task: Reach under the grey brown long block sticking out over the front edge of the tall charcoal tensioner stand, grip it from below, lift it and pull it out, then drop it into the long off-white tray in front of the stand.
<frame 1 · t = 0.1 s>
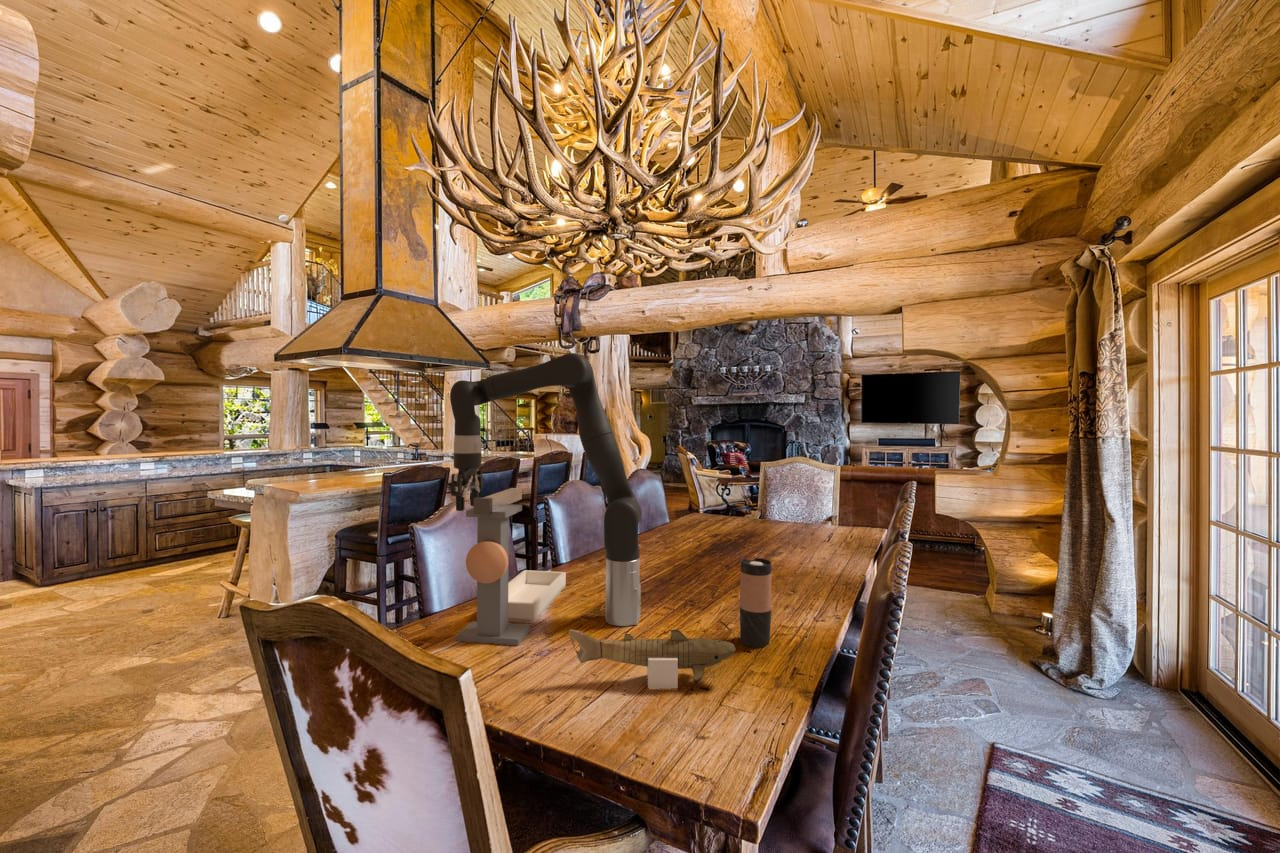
hand: (467, 508, 149), 29 cm above the table, tool pointing down, fingers open, 8 cm apart
travel mug: (754, 642, 131), on the table
wood carving: (651, 682, 110), on the table
off-white tray: (528, 602, 157), on the table
tensioner stand: (495, 635, 133), on the table
grey brown long block: (500, 505, 135), point 32 cm above the table, touching tensioner stand
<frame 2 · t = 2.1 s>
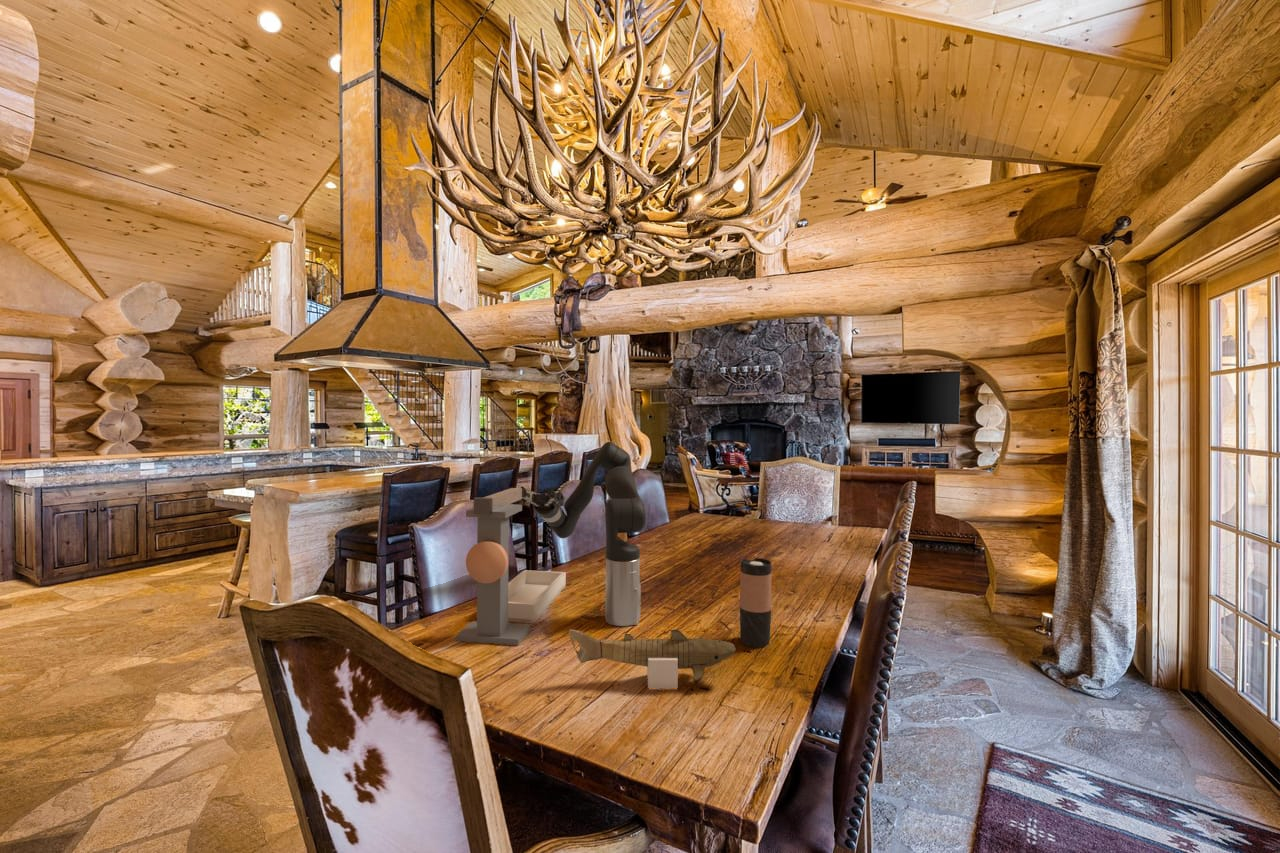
hand: (534, 489, 161), 33 cm above the table, tool pointing upward, fingers open, 8 cm apart
nothing on the table moved.
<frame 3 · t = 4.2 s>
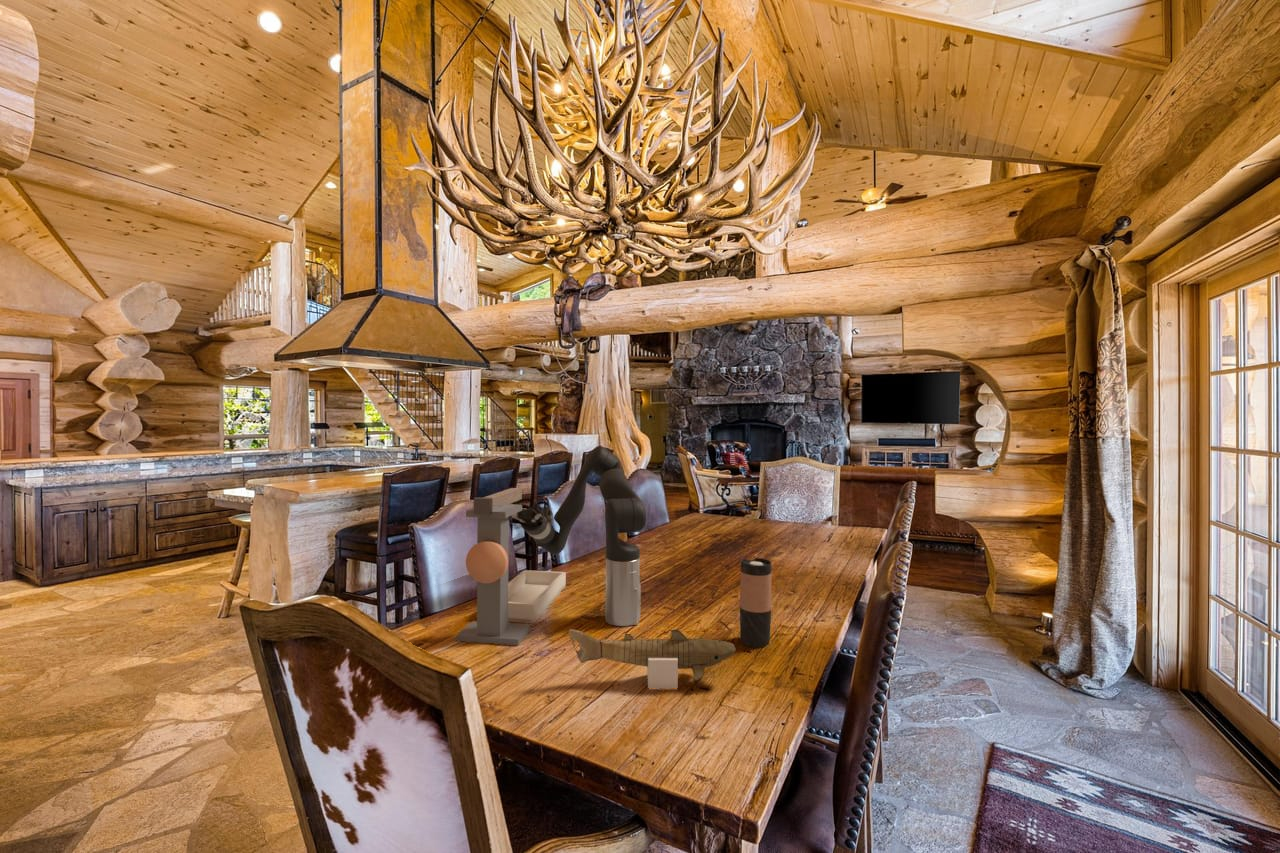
hand: (519, 504, 148), 30 cm above the table, tool pointing upward, fingers open, 8 cm apart
nothing on the table moved.
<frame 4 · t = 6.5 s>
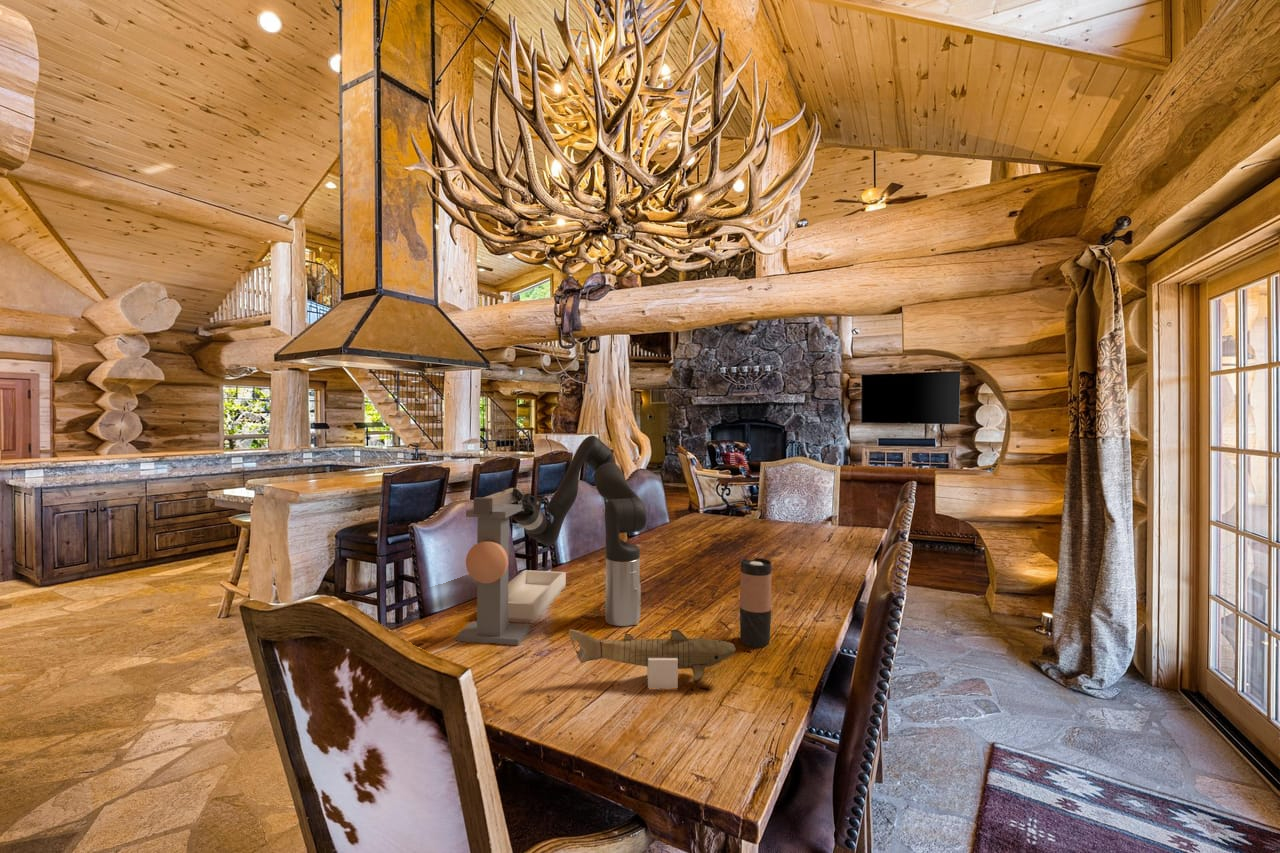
hand: (507, 491, 140), 35 cm above the table, tool pointing upward, fingers closed on grey brown long block, 3 cm apart
grey brown long block: (500, 505, 135), point 33 cm above the table, touching gripper, tensioner stand
everything else where it was.
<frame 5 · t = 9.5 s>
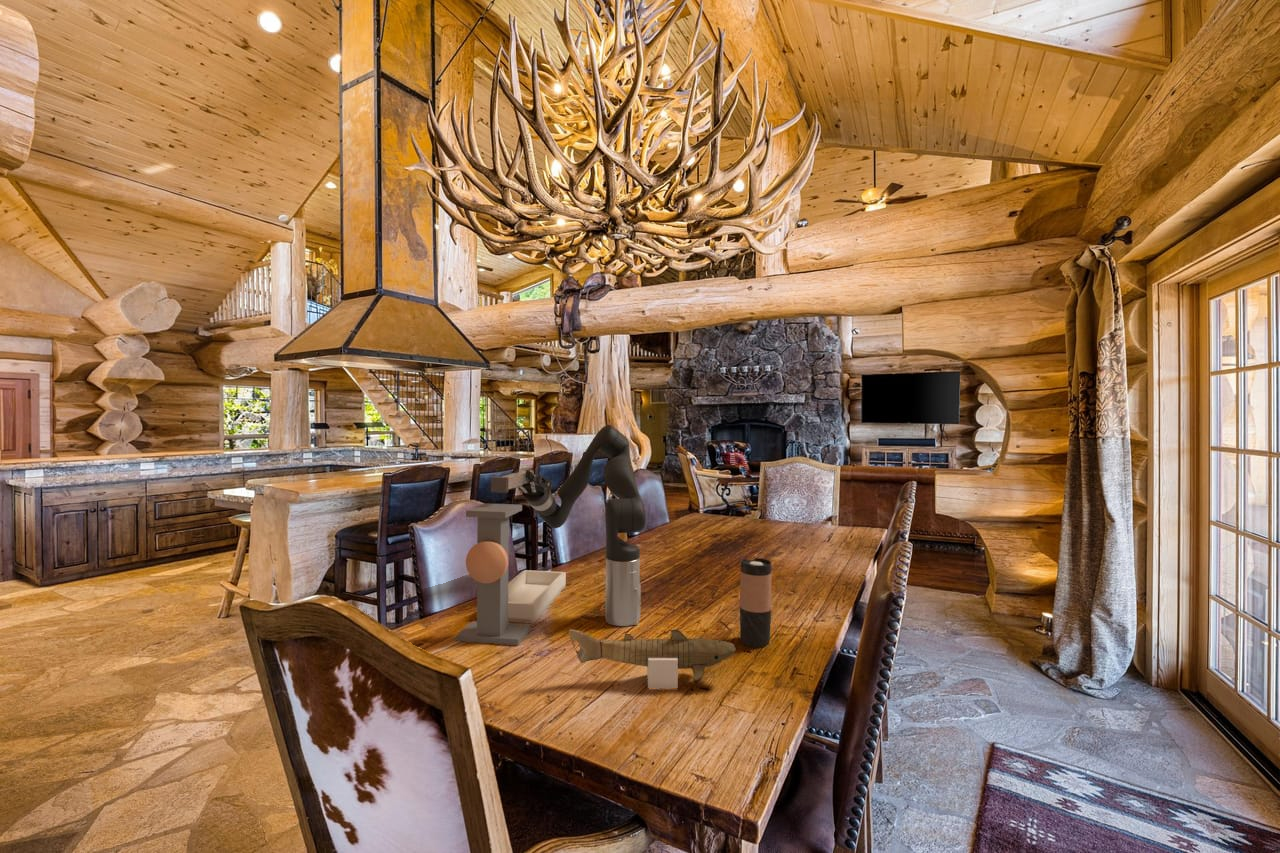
hand: (521, 472, 149), 39 cm above the table, tool pointing upward, fingers closed on grey brown long block, 3 cm apart
grey brown long block: (514, 485, 145), point 36 cm above the table, touching gripper
everything else where it was.
when the fingers open (27 cm above the table, at t = 12.4 s): grey brown long block drops 23 cm, resting on off-white tray.
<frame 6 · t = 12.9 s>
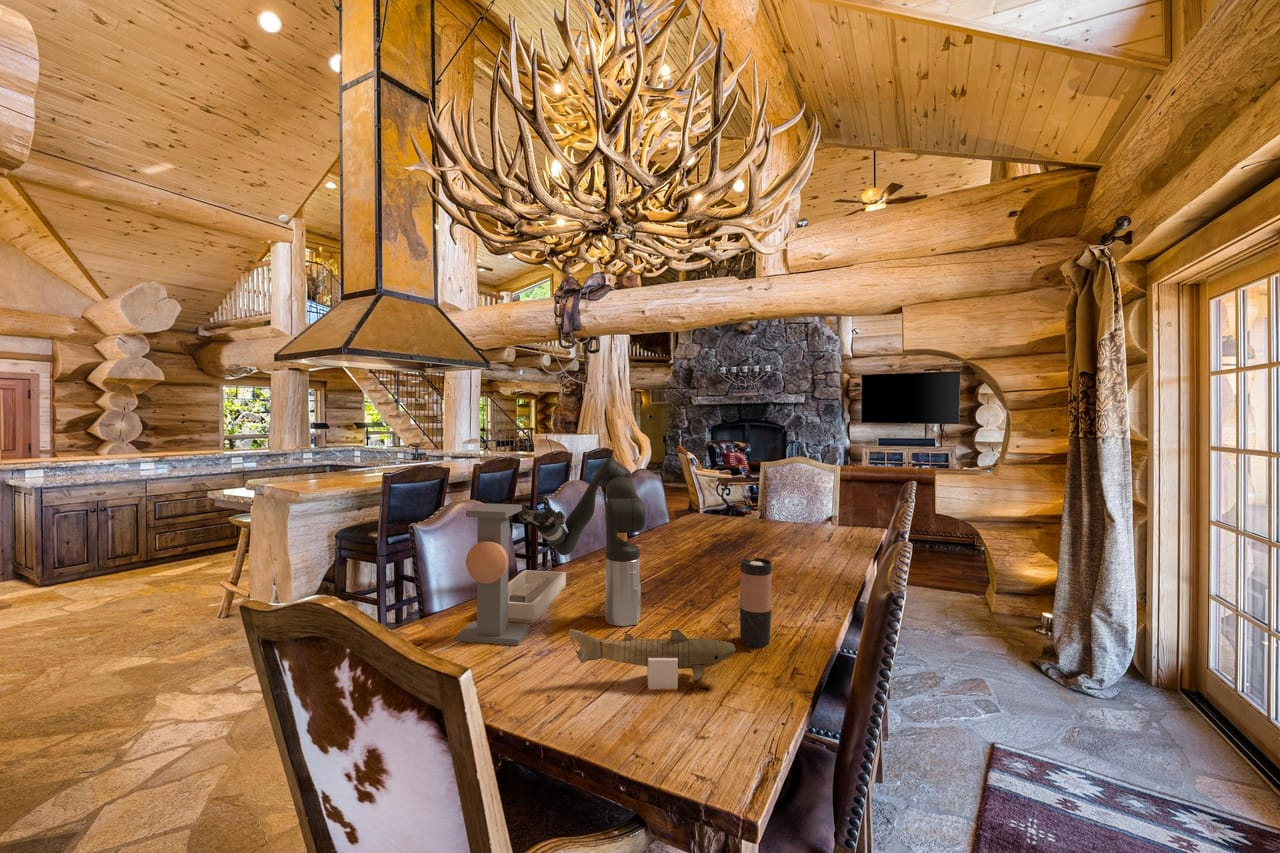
hand: (535, 509, 161), 27 cm above the table, tool pointing upward, fingers open, 7 cm apart
grey brown long block: (531, 596, 158), point 1 cm above the table, touching off-white tray
everything else where it was.
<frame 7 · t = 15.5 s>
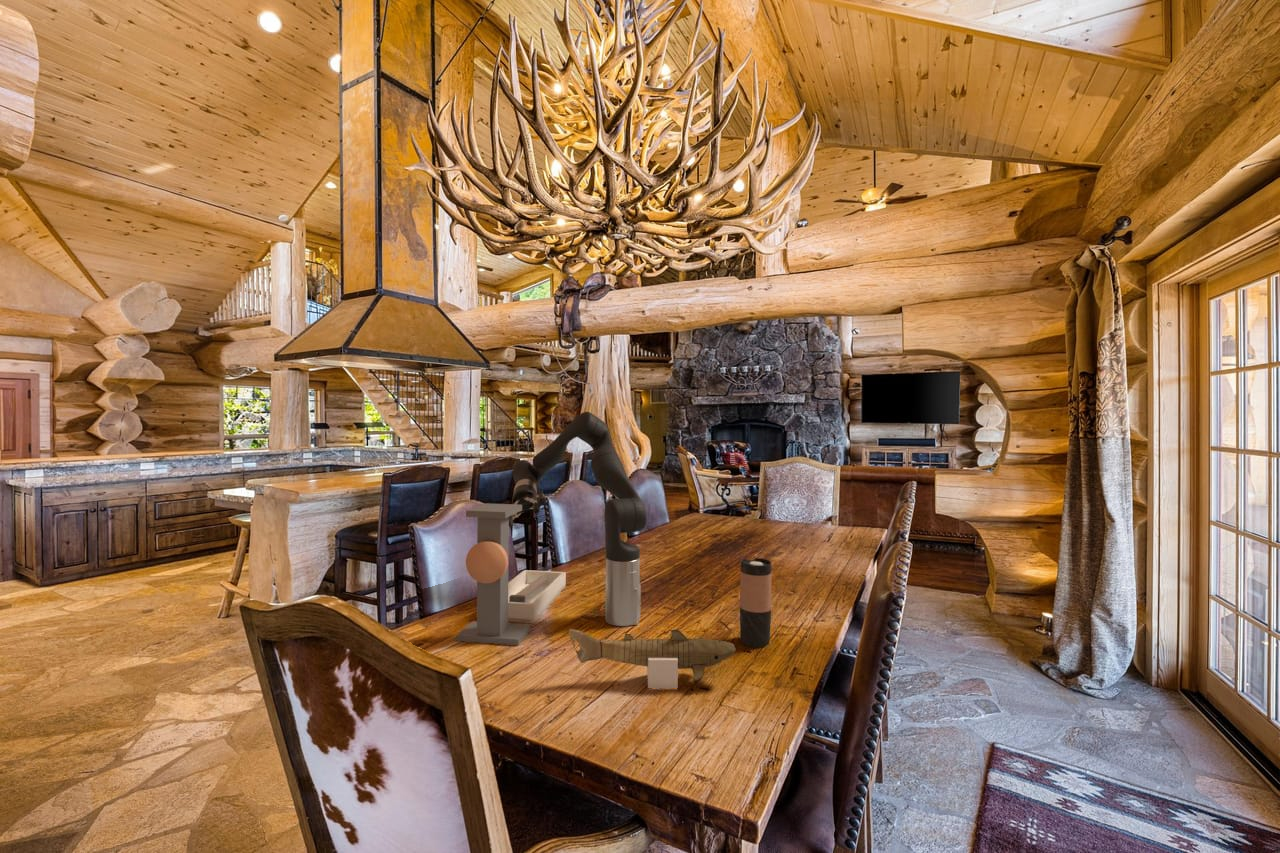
hand: (522, 518, 158), 25 cm above the table, tool tilted 70°, fingers open, 8 cm apart
nothing on the table moved.
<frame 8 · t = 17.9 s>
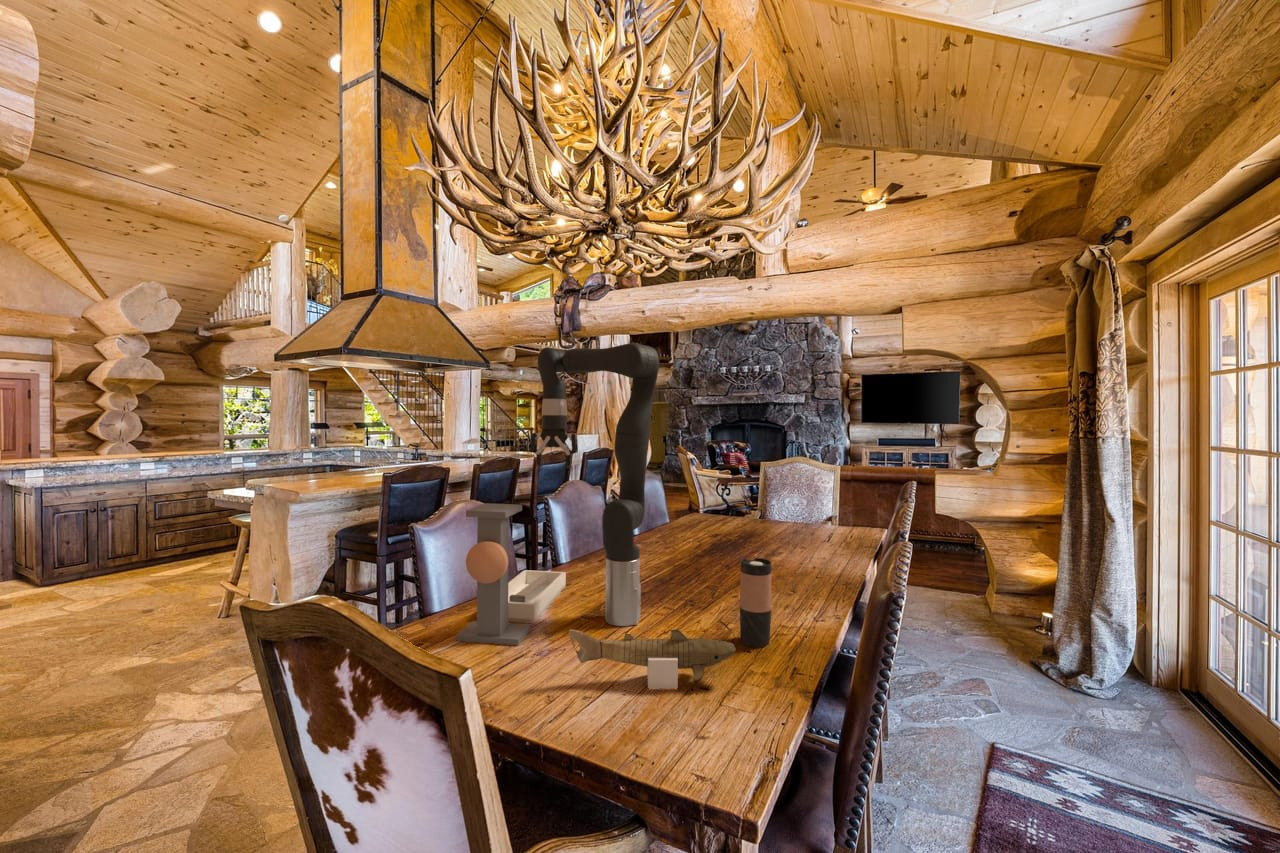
hand: (554, 467, 160), 40 cm above the table, tool pointing down, fingers open, 8 cm apart
nothing on the table moved.
at the end: grey brown long block inside the target area on the off-white tray (1.6 cm from its centre), point 1.2 cm above the off-white tray's base; the gripper is holding nothing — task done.
